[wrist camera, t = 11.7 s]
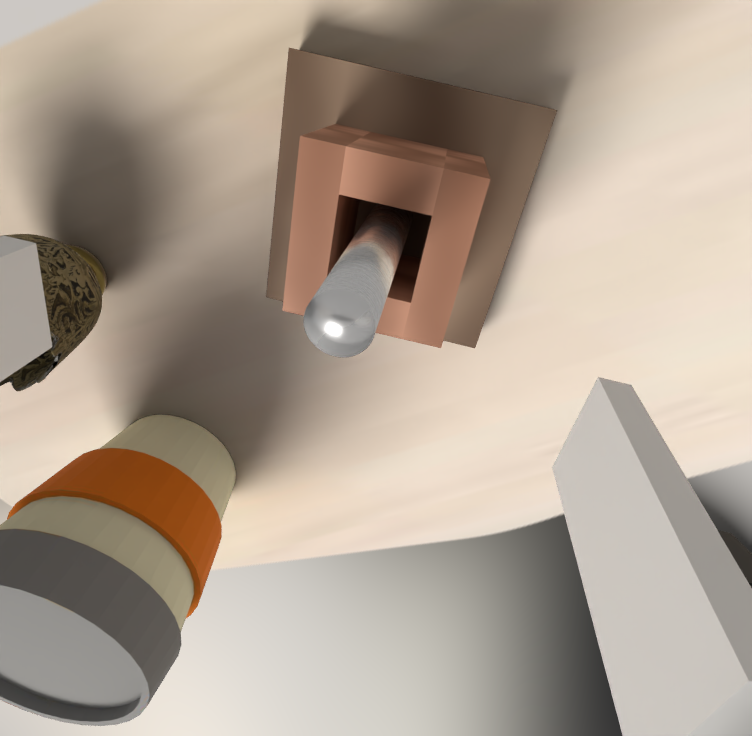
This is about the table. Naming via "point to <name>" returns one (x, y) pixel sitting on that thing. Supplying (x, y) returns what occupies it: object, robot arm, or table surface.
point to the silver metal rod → (358, 285)
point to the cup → (63, 303)
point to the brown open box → (392, 188)
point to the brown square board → (423, 125)
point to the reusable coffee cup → (109, 571)
